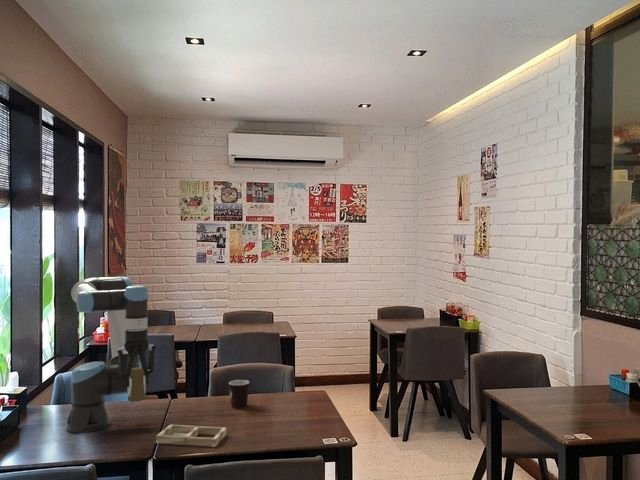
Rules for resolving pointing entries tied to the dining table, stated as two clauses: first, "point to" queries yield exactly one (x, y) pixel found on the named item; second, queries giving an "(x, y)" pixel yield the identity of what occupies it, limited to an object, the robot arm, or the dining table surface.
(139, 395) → the olive condiment shaker
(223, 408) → the dining table surface
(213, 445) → the condiment rack
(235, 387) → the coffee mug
